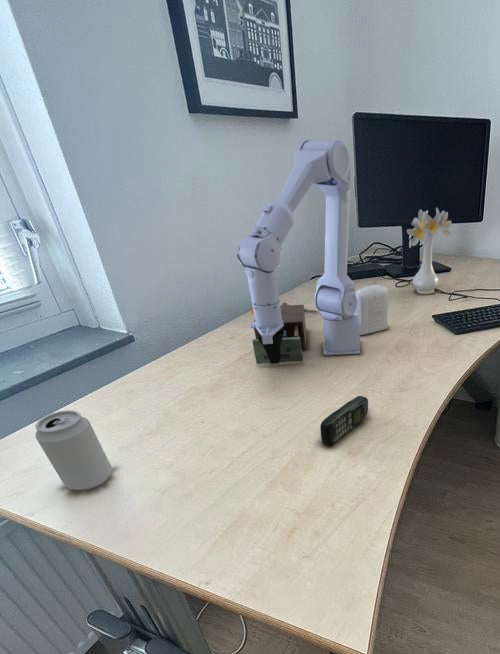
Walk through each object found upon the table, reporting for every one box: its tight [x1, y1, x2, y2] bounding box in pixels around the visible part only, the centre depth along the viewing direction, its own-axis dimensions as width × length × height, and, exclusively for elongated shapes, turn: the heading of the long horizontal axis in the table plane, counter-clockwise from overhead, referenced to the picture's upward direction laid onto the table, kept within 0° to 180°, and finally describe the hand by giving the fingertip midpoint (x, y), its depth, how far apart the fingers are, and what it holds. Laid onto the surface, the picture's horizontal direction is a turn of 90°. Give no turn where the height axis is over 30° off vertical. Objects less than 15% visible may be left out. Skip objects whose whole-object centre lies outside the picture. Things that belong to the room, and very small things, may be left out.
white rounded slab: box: [354, 284, 389, 336], centre depth 122 cm, size 10×4×12 cm, turn 123°
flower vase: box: [406, 206, 453, 295], centre depth 145 cm, size 13×18×25 cm
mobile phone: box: [319, 395, 369, 447], centre depth 84 cm, size 5×3×15 cm
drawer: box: [251, 325, 304, 365], centre depth 109 cm, size 17×11×6 cm
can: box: [35, 409, 113, 491], centre depth 71 cm, size 8×8×12 cm
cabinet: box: [253, 304, 308, 351], centre depth 118 cm, size 14×13×8 cm
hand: (275, 362), depth 100 cm, fingers closed
